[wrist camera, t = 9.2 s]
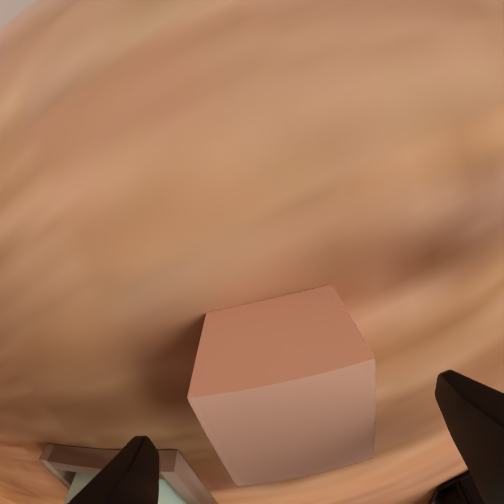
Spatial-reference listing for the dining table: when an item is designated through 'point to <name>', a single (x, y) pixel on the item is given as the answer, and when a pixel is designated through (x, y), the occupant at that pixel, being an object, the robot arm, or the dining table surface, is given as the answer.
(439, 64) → the dining table surface
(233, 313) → the terracotta cube
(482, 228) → the dining table surface
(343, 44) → the dining table surface
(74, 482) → the sage block
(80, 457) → the walnut frame
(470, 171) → the dining table surface
